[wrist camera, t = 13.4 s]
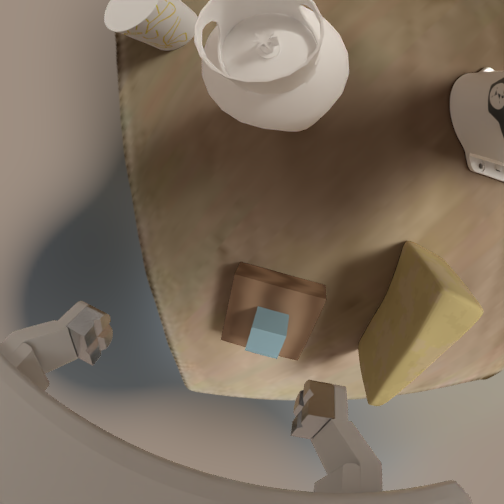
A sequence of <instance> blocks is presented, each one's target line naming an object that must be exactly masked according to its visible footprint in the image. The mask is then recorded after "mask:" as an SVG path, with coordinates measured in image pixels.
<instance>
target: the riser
mask: <svg viewBox="0 0 504 504" xmlns="http://www.w3.org/2000/svg"><path fill="white" fill-rule="evenodd" d="M325 302H326V287H325V285H323V284H319V283H316V282H312V281H308V280H305V279H301V278H297V277H294V276H290V275H286V274H283V273H279V272H276V271H272V270H268V269H265V268H261V267H258V266H254V265H251V264H247V263H243V262H240V264H239V266H238V268H237V270H236V272H235V275H234V279H233V284H232V289H231V294H230V298H229V303H228V308H227V313H226V318H225V323H224V327H223V332H222V337H221V340H223V341H227V342H230V343H233V344H237V345H240V346H244V347H246V345H247V342H248V338H249V335H250V331H251V328H252V325H253V321H254V318H255V314H256V311H257V308H258V306H259V307H262V308H266V309H269V310H273V311H277V312H280V313H284V314H288V315H289V320H288V328H287V336H286V339H285V341H284V343H283V346H282V348H281V350H280V353H279V355H278V356H281V357H285V358H289V359H293V360H298V359H299V357H300V355H301V353H302V351H303V349H304V347H305V345H306V343H307V341H308V338H309V336H310V334H311V332H312V330H313V328H314V326H315V324H316V322H317V319H318V317H319V315H320V313H321V311H322V308H323V306H324V304H325Z"/></svg>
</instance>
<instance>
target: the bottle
mask: <svg viewBox="0 0 504 504" xmlns="http://www.w3.org/2000/svg"><path fill="white" fill-rule="evenodd" d="M301 4H303V5H307V6H308V7H310V8H311V9H312V10H313V11H314V12H313V11H311V10H309V9H307V8H306V7H304V6H301ZM211 21H215V22H216V23H217V26H216V27H215V28H214V30H213V31H212V32H211V34H210V35H209V37H208V39H207V42H206V45H205V48H204V49H203V46H202V30H203V28H204V27H205V25H206V24H207V23H209V22H211ZM194 42H195V45H196V47H197V50H198V52H199V55H200V57H201V58H202V77H203V80H204V83H205V85H206V88H207V91H208V93H209V95H210V96H211V98H212V99H213V100H214V101H215V102H216V104H217V105H218V106H219V107H220V108H221V110H222V111H224V112H226V113H227V114H229V115H230V116H232V117H233V118H235V119H237V120H238V121H240V122H242V123H245V124H249V125H252V126H256V127H259V128H263V129H271V130H280V131H288V132H298V131H302V130H306V129H307V128H309V127H311V126H312V125H314V124H315V123H316V122H317V121H318V120H319V119H320V118H321V117H322V116H323V115H324V114H325V113H326V112H327V111H329V109H330V108H331V107H332V106H333V104H334V103H335V102H336V101H337V100H338V98H339V97H340V96H341V95H342V93H343V90H344V87H345V84H346V81H347V78H348V75H349V62H348V52H347V50H346V48H345V45H344V43H343V41H342V39H341V36H340V34H339V33H338V32H337V31H336V30H335V29H334V28H333V27H332V26H331V24H330V23H329V22H328V21H327V20H326V19H325V18H323V17H322V15H321V13H320V11H319V10H318V8H317V6H316V4H315V3H314V2H313V1H312V0H210V1H209V2H208V3H207V4H206V6H205V7H204V8H203V9H202V10H201V12H200V14H199V17H198V19H197V22H196V24H195V35H194Z"/></svg>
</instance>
